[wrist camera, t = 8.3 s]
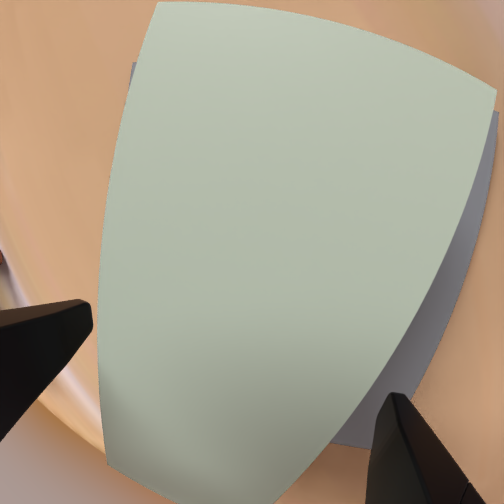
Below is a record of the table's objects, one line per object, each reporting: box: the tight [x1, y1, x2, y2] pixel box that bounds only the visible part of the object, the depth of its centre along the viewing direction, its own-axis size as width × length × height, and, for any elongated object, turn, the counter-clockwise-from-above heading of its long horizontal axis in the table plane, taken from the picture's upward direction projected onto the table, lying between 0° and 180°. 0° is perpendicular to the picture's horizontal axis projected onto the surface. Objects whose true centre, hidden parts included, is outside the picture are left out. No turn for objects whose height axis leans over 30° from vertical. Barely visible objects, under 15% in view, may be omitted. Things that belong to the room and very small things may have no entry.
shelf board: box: [97, 2, 497, 504], centre depth 9 cm, size 6×16×4 cm, turn 163°
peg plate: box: [128, 62, 499, 449], centre depth 13 cm, size 16×18×4 cm
